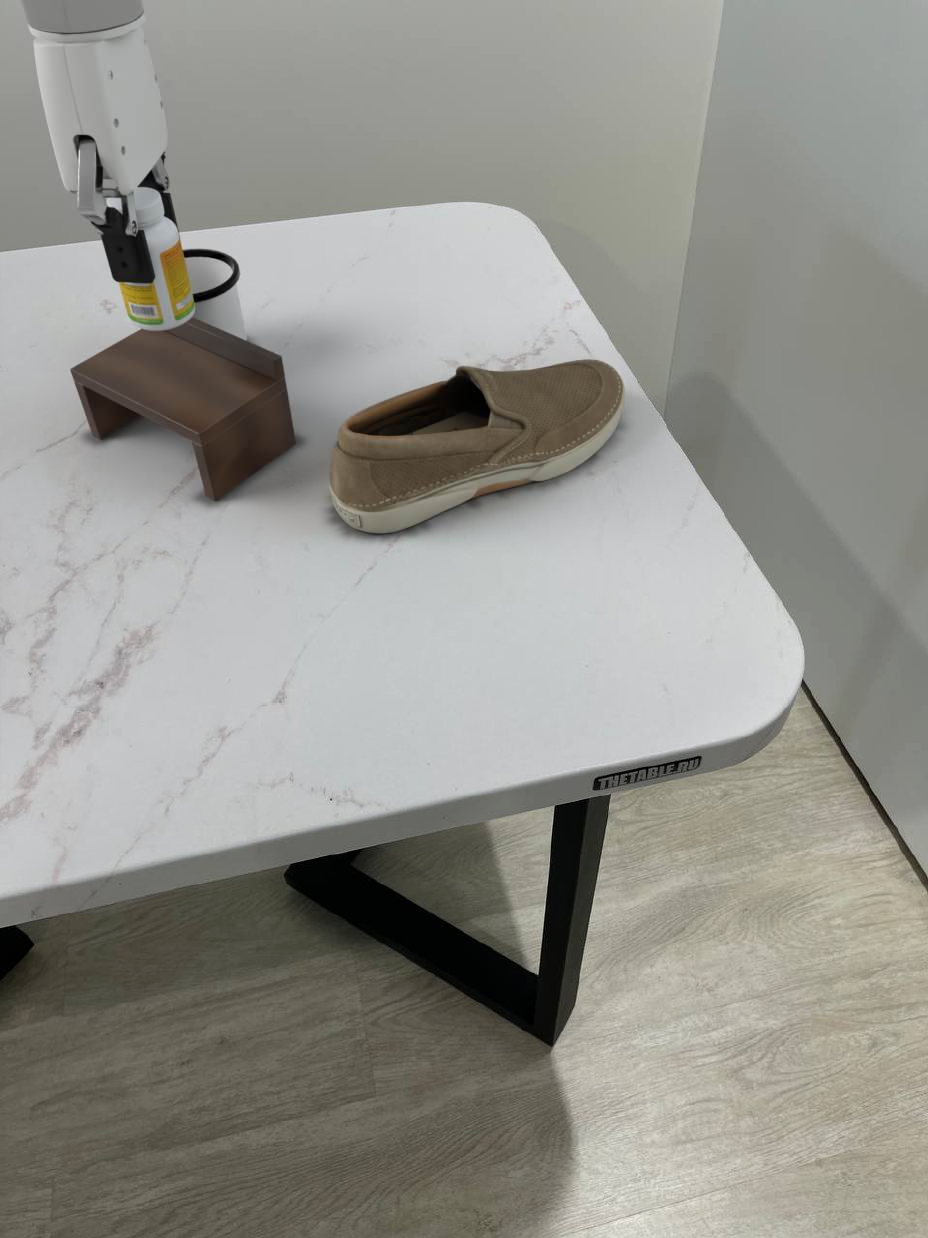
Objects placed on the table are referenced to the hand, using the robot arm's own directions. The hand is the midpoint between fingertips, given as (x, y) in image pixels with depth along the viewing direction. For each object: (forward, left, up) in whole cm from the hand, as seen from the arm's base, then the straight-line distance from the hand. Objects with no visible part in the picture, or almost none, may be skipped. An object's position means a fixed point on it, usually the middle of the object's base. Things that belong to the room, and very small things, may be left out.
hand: (147, 258), depth 79 cm
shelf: (0, 0, -17) cm, 17 cm away
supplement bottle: (0, 0, -5) cm, 5 cm away
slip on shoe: (+13, -23, -17) cm, 32 cm away
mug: (+11, +10, -17) cm, 23 cm away
